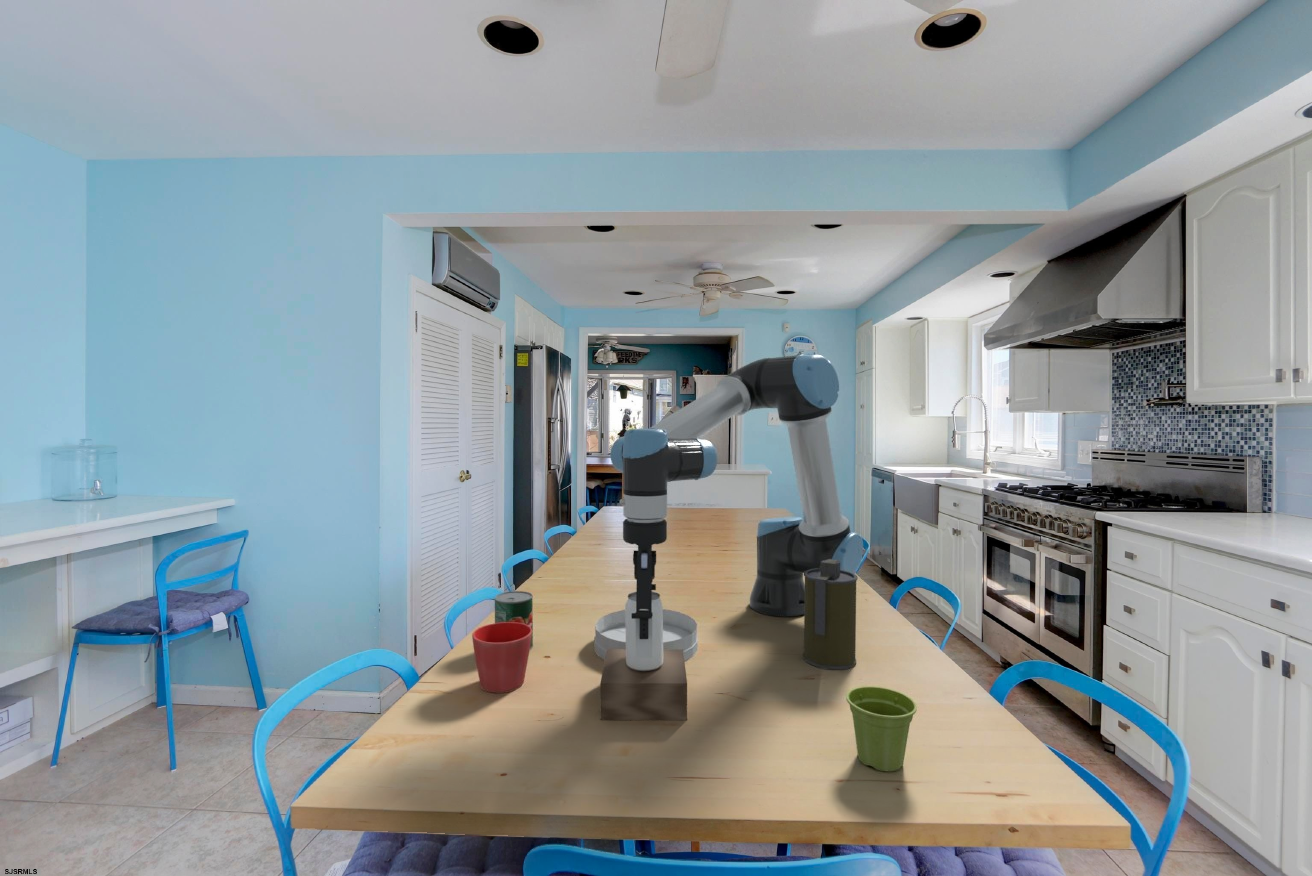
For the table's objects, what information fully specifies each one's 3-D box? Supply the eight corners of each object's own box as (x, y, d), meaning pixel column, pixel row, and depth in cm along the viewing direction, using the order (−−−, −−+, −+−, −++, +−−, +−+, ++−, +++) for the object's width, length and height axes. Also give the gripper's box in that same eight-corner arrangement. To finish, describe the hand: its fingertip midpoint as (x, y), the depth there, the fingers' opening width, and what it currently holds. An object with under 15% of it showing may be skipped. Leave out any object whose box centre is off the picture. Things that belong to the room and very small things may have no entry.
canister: (813, 645, 127) (814, 553, 127) (862, 657, 121) (864, 560, 121) (793, 662, 118) (795, 563, 118) (846, 676, 112) (847, 571, 112)
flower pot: (543, 675, 112) (543, 624, 112) (511, 701, 102) (511, 645, 101) (495, 667, 116) (495, 618, 115) (459, 692, 105) (459, 638, 105)
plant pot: (835, 743, 89) (836, 686, 89) (895, 740, 90) (896, 684, 90) (862, 781, 80) (863, 718, 80) (929, 778, 81) (930, 715, 80)
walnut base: (682, 681, 110) (683, 649, 110) (687, 720, 96) (687, 683, 96) (607, 681, 110) (607, 649, 110) (600, 719, 96) (600, 683, 96)
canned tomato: (505, 639, 130) (505, 589, 130) (538, 642, 129) (538, 592, 128) (487, 653, 123) (487, 600, 122) (523, 656, 121) (523, 603, 121)
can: (665, 657, 106) (664, 590, 105) (661, 672, 99) (660, 601, 99) (629, 656, 106) (628, 590, 106) (623, 671, 100) (622, 600, 100)
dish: (719, 646, 127) (719, 623, 127) (647, 679, 111) (647, 653, 111) (645, 622, 142) (645, 601, 142) (572, 648, 126) (572, 624, 126)
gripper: (626, 507, 114) (626, 616, 115) (618, 532, 89) (618, 671, 90) (665, 507, 114) (664, 616, 115) (668, 532, 89) (668, 672, 90)
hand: (644, 641), depth 102 cm, fingers open, 13 cm apart
